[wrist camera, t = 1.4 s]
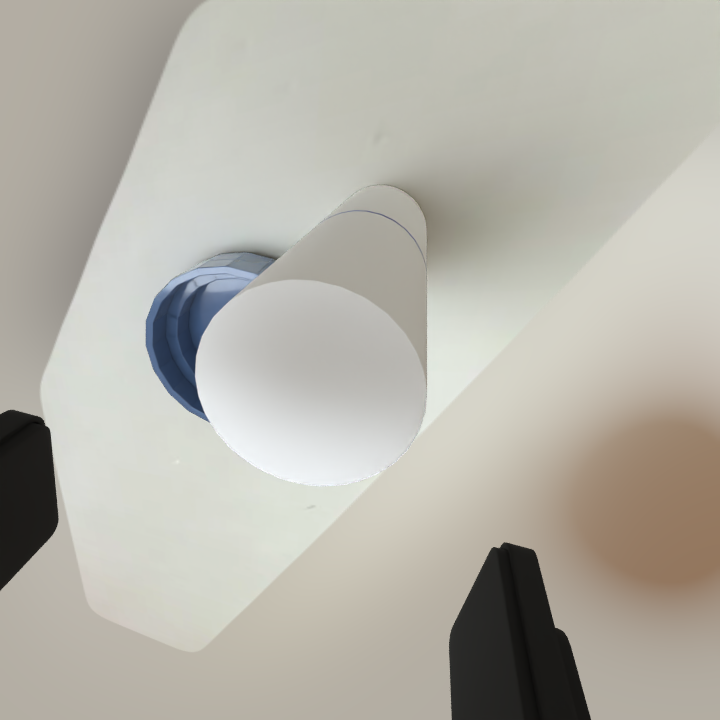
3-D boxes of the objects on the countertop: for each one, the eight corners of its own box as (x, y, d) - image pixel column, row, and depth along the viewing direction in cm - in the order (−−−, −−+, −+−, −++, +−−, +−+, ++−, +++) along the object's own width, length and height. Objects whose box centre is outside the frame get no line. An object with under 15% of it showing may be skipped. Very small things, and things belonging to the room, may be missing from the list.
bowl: (178, 232, 39) (146, 245, 34) (346, 275, 38) (336, 294, 34) (172, 379, 45) (144, 406, 41) (316, 416, 45) (303, 448, 40)
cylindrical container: (415, 173, 34) (393, 251, 12) (435, 266, 37) (448, 470, 15) (323, 199, 36) (156, 310, 14) (349, 287, 39) (245, 498, 17)
